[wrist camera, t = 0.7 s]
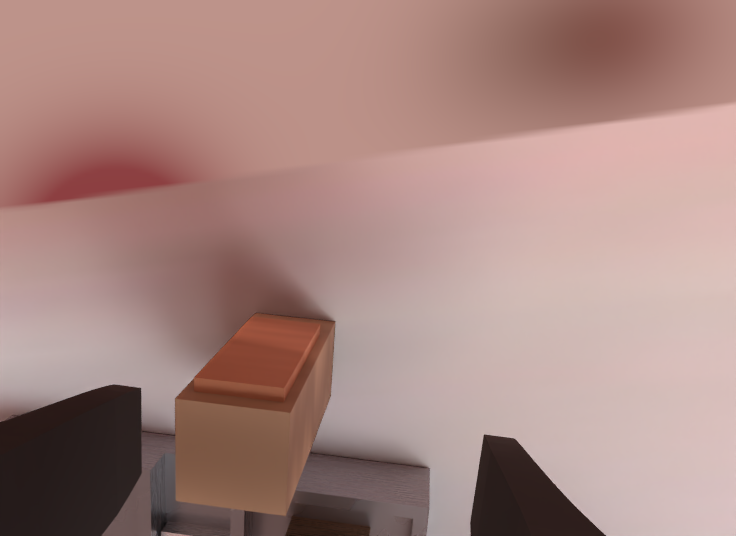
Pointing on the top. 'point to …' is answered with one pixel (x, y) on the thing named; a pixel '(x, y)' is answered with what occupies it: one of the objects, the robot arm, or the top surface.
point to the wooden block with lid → (254, 415)
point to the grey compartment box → (307, 508)
